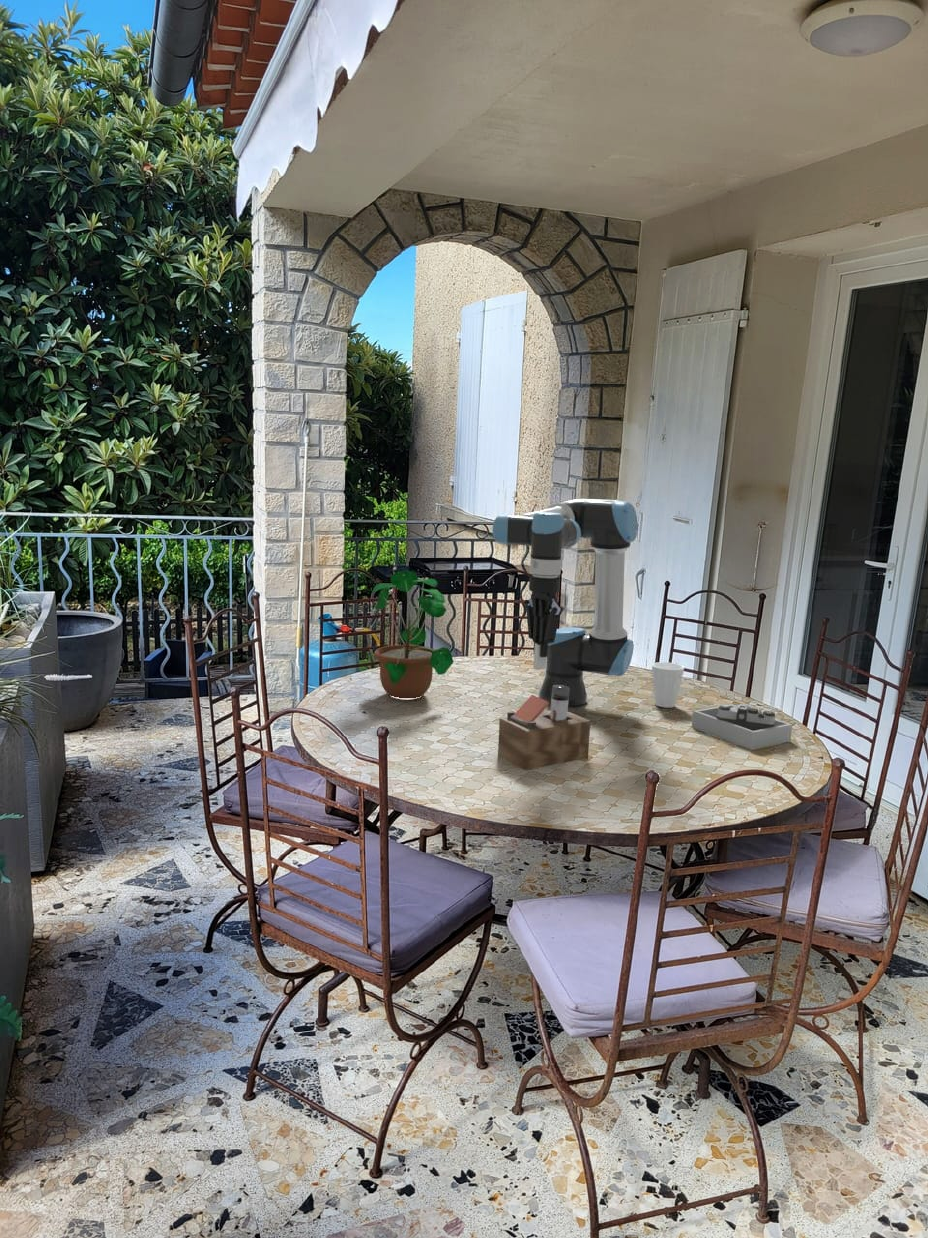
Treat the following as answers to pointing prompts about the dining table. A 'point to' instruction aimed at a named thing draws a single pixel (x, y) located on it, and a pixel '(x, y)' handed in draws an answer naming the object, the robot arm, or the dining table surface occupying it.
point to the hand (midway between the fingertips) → (539, 668)
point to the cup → (666, 683)
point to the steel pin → (559, 703)
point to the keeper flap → (530, 710)
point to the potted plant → (411, 642)
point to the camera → (746, 717)
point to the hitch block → (543, 740)
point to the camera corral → (741, 730)
